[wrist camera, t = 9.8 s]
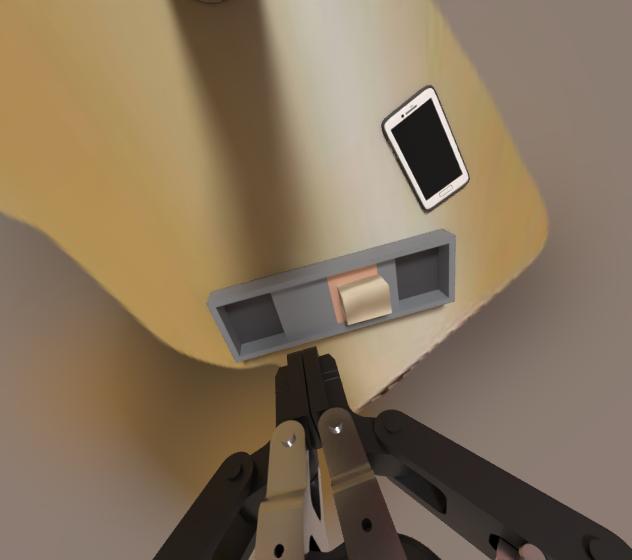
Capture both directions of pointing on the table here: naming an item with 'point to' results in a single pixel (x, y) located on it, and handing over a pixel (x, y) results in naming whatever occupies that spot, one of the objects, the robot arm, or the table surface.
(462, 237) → the table surface
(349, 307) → the birch block
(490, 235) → the table surface
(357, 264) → the channel
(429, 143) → the cell phone
